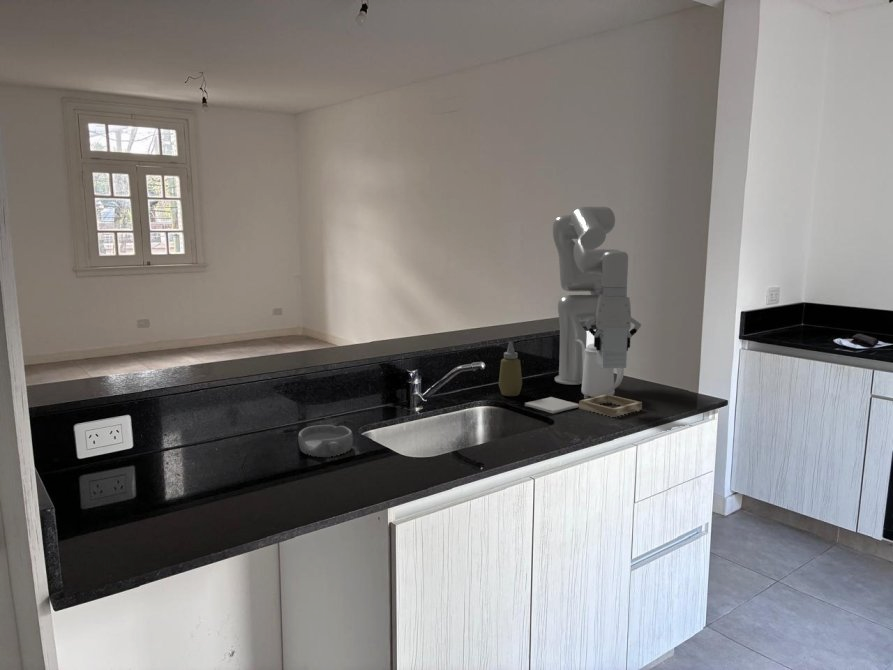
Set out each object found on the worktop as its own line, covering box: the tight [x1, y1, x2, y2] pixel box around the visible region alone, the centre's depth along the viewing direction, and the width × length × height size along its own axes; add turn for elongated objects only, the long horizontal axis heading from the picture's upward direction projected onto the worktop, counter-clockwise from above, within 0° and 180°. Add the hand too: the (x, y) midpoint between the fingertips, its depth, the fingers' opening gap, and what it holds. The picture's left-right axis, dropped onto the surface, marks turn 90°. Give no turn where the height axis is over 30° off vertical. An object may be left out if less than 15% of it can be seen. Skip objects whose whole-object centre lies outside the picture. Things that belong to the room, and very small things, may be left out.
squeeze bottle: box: [498, 341, 523, 397], centre depth 223 cm, size 8×8×18 cm
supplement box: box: [597, 327, 628, 369], centre depth 203 cm, size 7×7×13 cm
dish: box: [297, 424, 354, 458], centre depth 170 cm, size 14×14×5 cm
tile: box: [524, 396, 579, 414], centre depth 210 cm, size 12×12×1 cm
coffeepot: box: [576, 340, 625, 398], centre depth 223 cm, size 11×25×19 cm, turn 25°
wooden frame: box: [578, 394, 643, 418], centre depth 205 cm, size 13×13×2 cm
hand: (611, 349), depth 203 cm, fingers closed on supplement box, 8 cm apart
